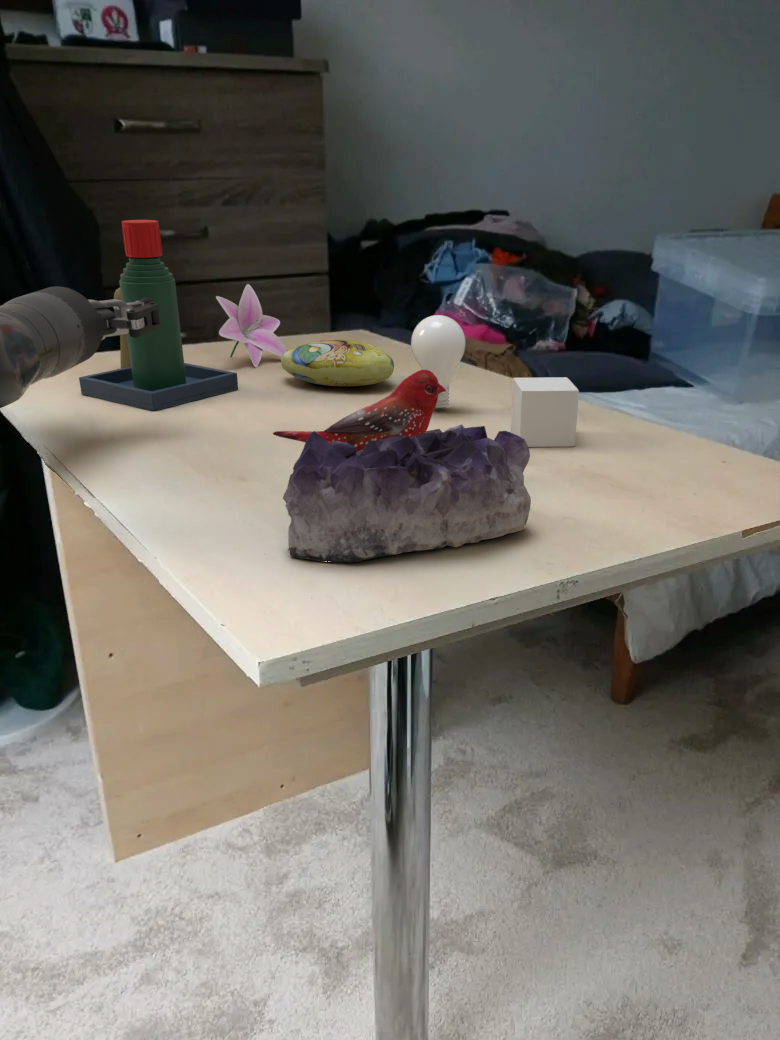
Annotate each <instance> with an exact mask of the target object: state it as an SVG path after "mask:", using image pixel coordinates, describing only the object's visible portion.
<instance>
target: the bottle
mask: <svg viewBox="0 0 780 1040" xmlns="http://www.w3.org/2000/svg"><path fill="white" fill-rule="evenodd" d="M128 261H129V262H126V263H125V266H126V267H123V269H122V271H123V272H122V273H120V275H119V276H120V279H119V280H118V283H119V288H120V290H121V297H122V301H124V302H125V303H129V302H135V301H138V300H140V299H142V298H152V300H153V302H155V303H158V306H159V314H160V323H161V328H159V329H156V330H154V331H152V332H150V333H147V334H145V335H143V336H140V337H138V338H133V337H130V336H129V332H128V333H127V342H128V349H129V356H130V364H131V371H132V378H133V386H134V388H139V389H143V390H148V391H152V392H153V391H156V390H160V389H165V388H169V387H173V386H177V385H181V384H186V375H185V366H184V363H185V359H184V350H183V341H182V331H181V322H180V313H179V304H178V294H177V286H176V285H177V284H176V279H175V277H174V274H173V272H170V269H169V267H168V266H166V265H165V262H163V261H161V256H158V257H146V258H137V257H128ZM131 310H132V309H131Z"/></svg>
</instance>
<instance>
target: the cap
mask: <svg viewBox="0 0 780 1040" xmlns="http://www.w3.org/2000/svg"><path fill="white" fill-rule="evenodd" d="M121 231H122V239H123V246H124V254H125V256H126V257H127V258H129V257H137V258H146V257H162V256H163V247H162V236H161V230H160V224H159V220H155V219H129V220H127V219H126V220H121Z"/></svg>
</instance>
